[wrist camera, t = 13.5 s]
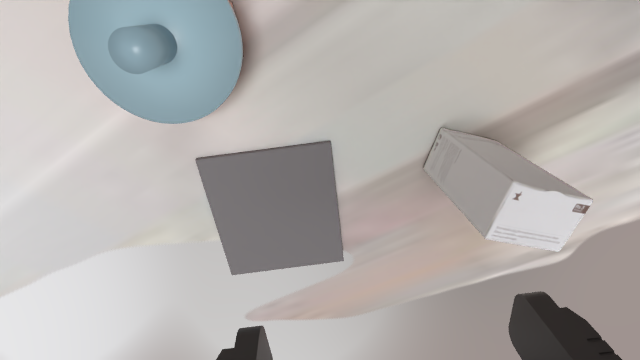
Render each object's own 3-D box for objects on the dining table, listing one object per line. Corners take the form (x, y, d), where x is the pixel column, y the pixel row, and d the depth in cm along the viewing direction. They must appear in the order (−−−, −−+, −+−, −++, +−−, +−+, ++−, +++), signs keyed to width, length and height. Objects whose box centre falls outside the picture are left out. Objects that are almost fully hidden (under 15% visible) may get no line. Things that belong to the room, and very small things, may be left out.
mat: (330, 140, 40) (330, 142, 39) (343, 257, 48) (343, 260, 48) (196, 158, 40) (195, 160, 39) (232, 272, 48) (232, 275, 48)
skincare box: (421, 168, 42) (476, 241, 29) (441, 123, 40) (511, 181, 26) (480, 181, 44) (559, 258, 30) (503, 139, 41) (600, 202, 28)
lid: (220, -65, 26) (200, -83, 21) (257, 110, 33) (249, 130, 27) (44, -41, 26) (-22, -53, 21) (115, 129, 33) (79, 153, 27)
